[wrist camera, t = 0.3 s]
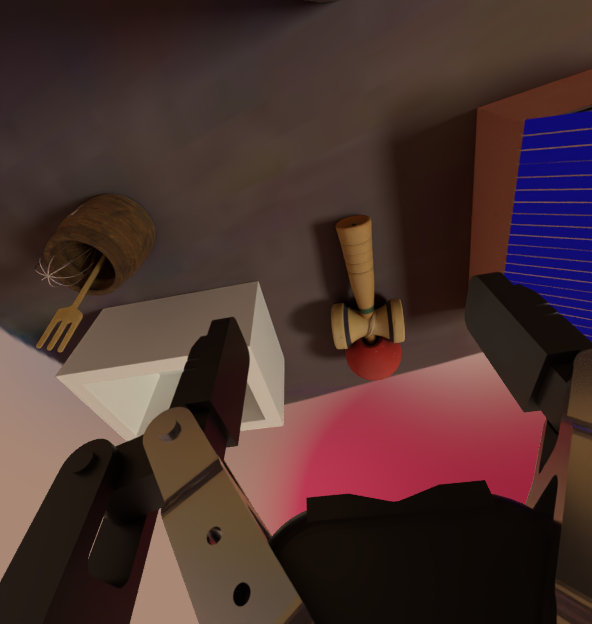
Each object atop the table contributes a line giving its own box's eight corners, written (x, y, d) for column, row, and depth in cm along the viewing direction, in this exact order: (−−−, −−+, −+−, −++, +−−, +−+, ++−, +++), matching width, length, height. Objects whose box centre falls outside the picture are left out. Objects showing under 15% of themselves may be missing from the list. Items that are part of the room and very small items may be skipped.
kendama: (299, 224, 29) (335, 366, 38) (313, 245, 24) (352, 404, 33) (378, 199, 29) (395, 346, 39) (410, 214, 24) (421, 381, 33)
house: (463, 309, 35) (524, 399, 26) (471, 103, 22) (593, 140, 13) (584, 280, 33) (697, 368, 24) (667, 36, 20) (968, 25, 11)
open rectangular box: (103, 308, 33) (55, 376, 26) (258, 280, 31) (249, 346, 25) (157, 378, 41) (130, 444, 34) (284, 359, 39) (283, 425, 32)
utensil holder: (160, 203, 26) (91, 286, 17) (156, 264, 30) (98, 360, 21) (83, 180, 25) (-37, 256, 16) (88, 247, 29) (-5, 340, 20)
